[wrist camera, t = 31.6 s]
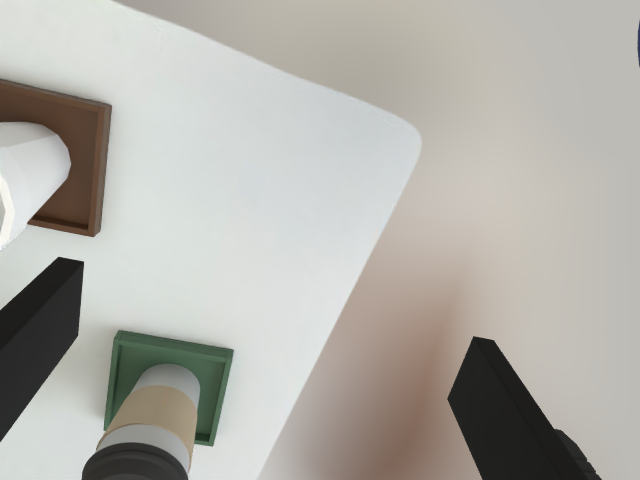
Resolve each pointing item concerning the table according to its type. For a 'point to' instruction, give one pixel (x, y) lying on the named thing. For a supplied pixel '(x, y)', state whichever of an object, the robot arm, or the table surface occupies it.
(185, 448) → the coffee cup
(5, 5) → the table surface
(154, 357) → the sage tray
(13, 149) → the foam cup
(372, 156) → the table surface
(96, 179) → the walnut tray
